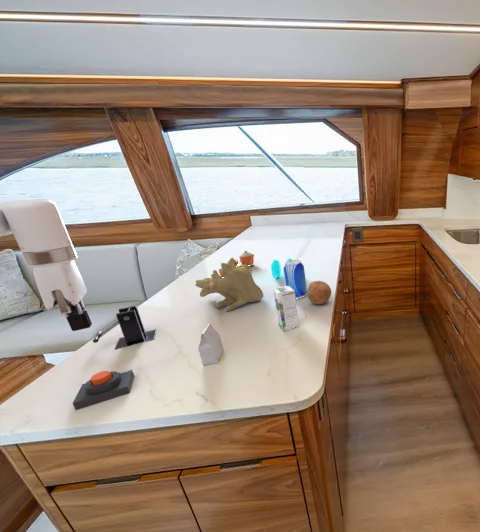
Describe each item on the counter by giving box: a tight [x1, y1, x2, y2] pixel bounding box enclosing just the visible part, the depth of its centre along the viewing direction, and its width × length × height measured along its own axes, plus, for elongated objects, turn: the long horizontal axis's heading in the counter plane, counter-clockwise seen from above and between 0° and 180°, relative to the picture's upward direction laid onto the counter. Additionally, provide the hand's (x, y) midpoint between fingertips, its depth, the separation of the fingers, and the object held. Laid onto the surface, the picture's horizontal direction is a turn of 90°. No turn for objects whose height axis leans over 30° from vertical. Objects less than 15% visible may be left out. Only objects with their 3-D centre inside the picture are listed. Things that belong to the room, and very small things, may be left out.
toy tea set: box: [217, 250, 255, 277], centre depth 166 cm, size 26×16×10 cm, turn 15°
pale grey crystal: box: [198, 323, 224, 367], centre depth 89 cm, size 4×7×10 cm, turn 15°
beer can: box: [283, 259, 308, 298], centre depth 130 cm, size 8×8×16 cm
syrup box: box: [272, 285, 300, 332], centre depth 105 cm, size 6×6×14 cm
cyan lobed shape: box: [270, 257, 293, 279], centre depth 155 cm, size 10×10×10 cm
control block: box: [72, 369, 135, 411], centre depth 77 cm, size 10×8×4 cm
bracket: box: [114, 305, 157, 350], centre depth 98 cm, size 10×8×12 cm
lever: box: [92, 308, 131, 344], centre depth 96 cm, size 12×6×2 cm, turn 125°
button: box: [90, 370, 112, 385], centre depth 76 cm, size 4×4×2 cm
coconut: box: [306, 280, 332, 305], centre depth 124 cm, size 10×10×10 cm
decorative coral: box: [195, 257, 264, 313], centre depth 124 cm, size 26×22×25 cm
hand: (82, 327), depth 72 cm, fingers closed
